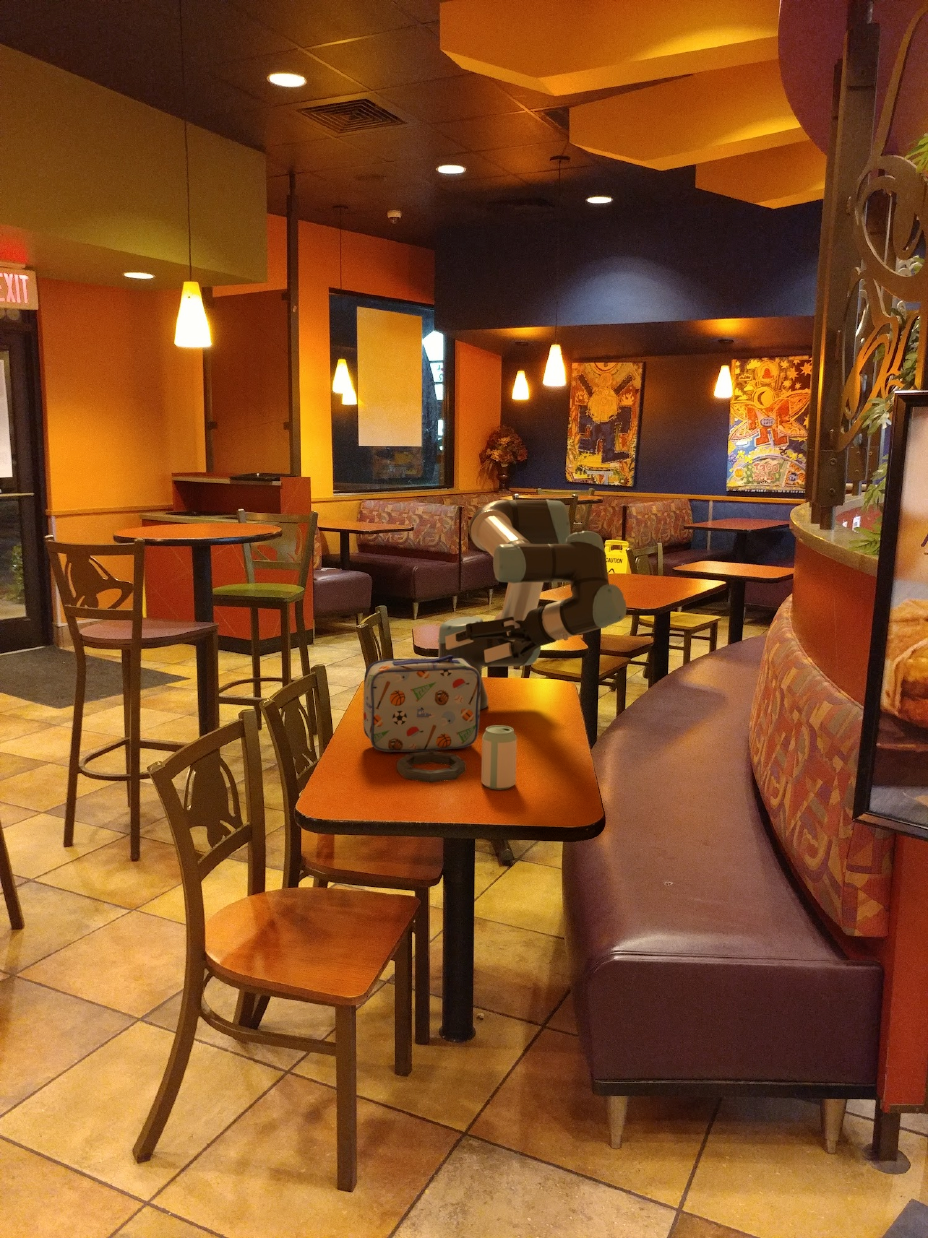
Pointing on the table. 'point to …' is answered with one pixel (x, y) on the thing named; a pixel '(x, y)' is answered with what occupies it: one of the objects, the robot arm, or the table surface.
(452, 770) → the ring
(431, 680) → the lunch box
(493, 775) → the can
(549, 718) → the table surface
